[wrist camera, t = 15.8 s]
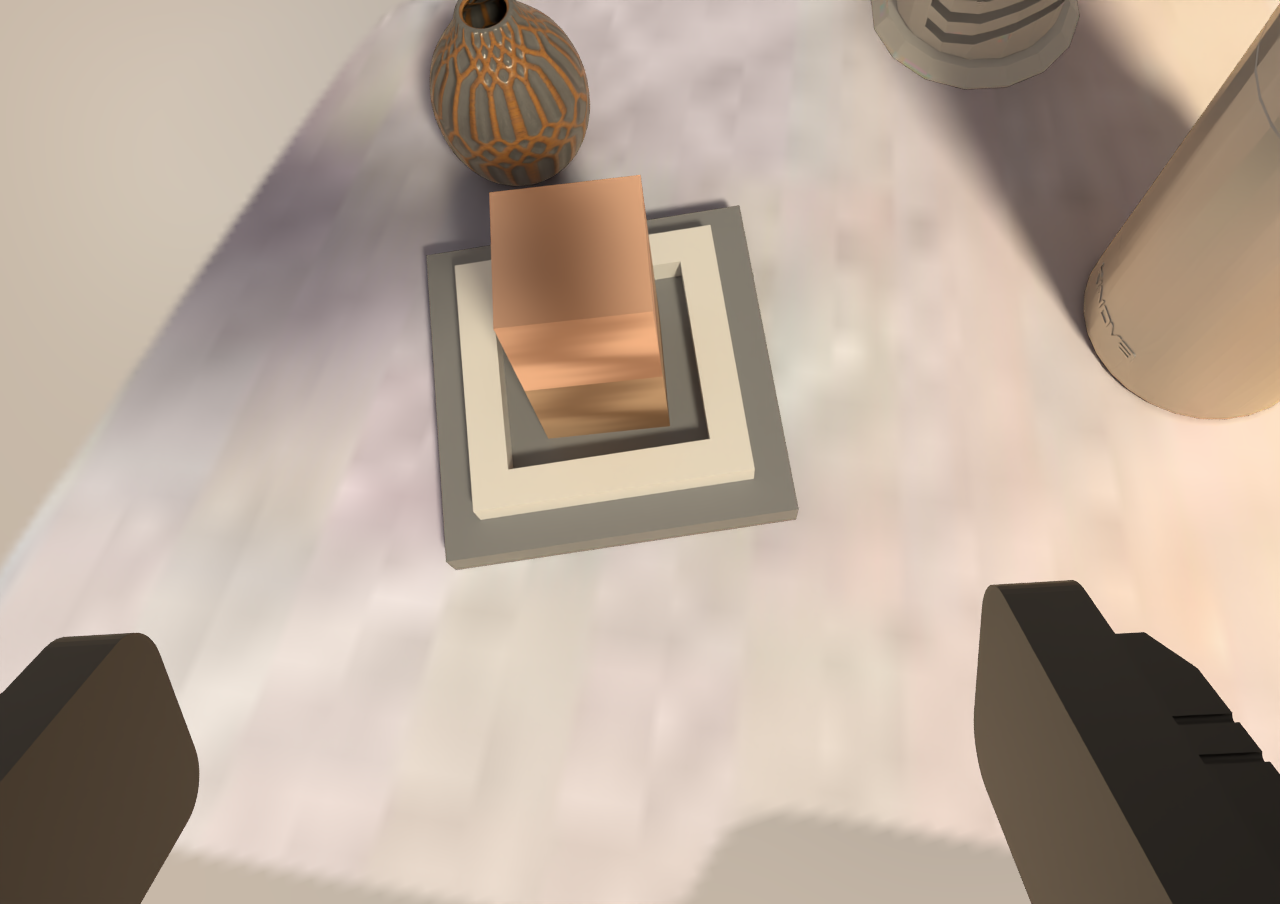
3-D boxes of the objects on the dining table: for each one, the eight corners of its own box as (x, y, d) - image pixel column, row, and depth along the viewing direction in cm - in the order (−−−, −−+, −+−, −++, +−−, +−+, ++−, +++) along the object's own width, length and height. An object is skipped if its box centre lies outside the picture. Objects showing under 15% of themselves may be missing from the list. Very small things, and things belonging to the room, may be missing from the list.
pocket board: (738, 224, 44) (739, 189, 41) (796, 519, 39) (800, 500, 37) (435, 272, 44) (418, 241, 42) (455, 570, 40) (437, 554, 37)
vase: (574, 70, 47) (542, -81, 39) (617, 182, 45) (593, 46, 37) (440, 114, 47) (380, -29, 39) (476, 229, 45) (420, 102, 37)
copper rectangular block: (659, 316, 41) (640, 174, 32) (670, 426, 39) (652, 311, 30) (543, 329, 41) (489, 192, 32) (548, 438, 40) (493, 328, 30)
